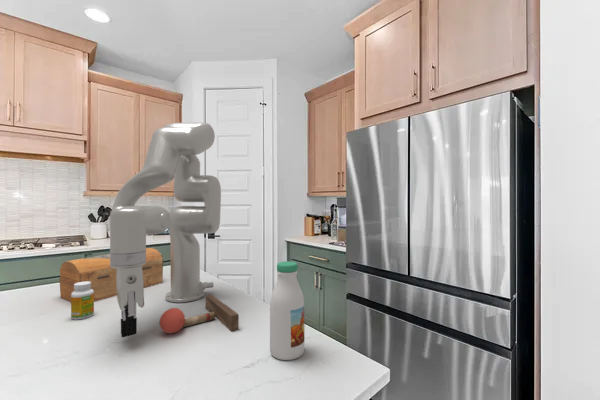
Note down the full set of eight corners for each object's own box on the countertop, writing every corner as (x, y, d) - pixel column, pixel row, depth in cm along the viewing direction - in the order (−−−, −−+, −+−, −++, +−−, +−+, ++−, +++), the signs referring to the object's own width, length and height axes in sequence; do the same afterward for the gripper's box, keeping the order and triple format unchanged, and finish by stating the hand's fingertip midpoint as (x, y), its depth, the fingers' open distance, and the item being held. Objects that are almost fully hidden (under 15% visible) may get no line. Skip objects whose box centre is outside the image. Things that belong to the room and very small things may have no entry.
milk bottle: (278, 365, 61) (278, 268, 61) (264, 348, 68) (264, 261, 68) (310, 355, 65) (310, 264, 65) (294, 340, 72) (294, 258, 72)
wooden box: (140, 277, 130) (140, 246, 129) (164, 283, 121) (164, 249, 121) (57, 297, 104) (56, 258, 104) (79, 306, 95) (79, 263, 95)
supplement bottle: (81, 320, 84) (81, 286, 83) (66, 319, 85) (65, 285, 85) (98, 313, 89) (98, 281, 89) (83, 312, 90) (83, 280, 90)
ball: (171, 300, 79) (153, 318, 77) (174, 308, 74) (155, 329, 72) (187, 313, 81) (170, 331, 79) (191, 322, 76) (173, 342, 74)
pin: (180, 326, 80) (212, 317, 86) (182, 329, 78) (215, 320, 84) (180, 318, 80) (212, 310, 86) (182, 321, 78) (215, 312, 84)
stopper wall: (211, 306, 94) (211, 294, 94) (238, 329, 78) (238, 314, 78) (205, 308, 93) (205, 295, 93) (231, 331, 77) (231, 316, 77)
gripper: (151, 262, 68) (151, 342, 68) (141, 252, 80) (141, 320, 80) (112, 266, 63) (113, 352, 64) (107, 255, 76) (108, 327, 76)
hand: (128, 334), depth 72 cm, fingers closed
